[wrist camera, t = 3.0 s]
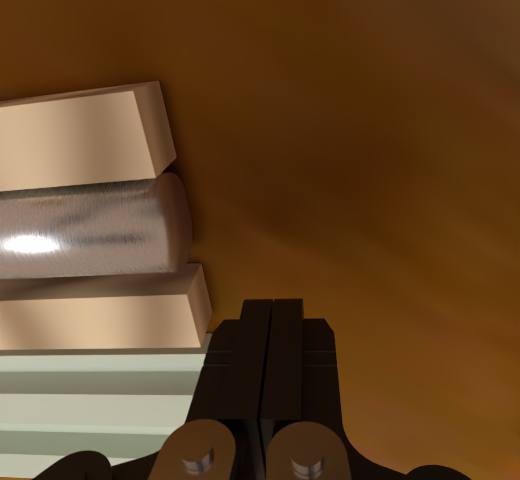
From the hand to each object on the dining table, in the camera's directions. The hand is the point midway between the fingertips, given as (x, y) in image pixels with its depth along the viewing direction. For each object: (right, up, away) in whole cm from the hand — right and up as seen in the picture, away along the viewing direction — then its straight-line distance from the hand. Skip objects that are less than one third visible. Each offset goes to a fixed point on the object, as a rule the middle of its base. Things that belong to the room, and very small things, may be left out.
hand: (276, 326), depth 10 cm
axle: (-12, +2, +7) cm, 14 cm away
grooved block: (-10, -8, +14) cm, 19 cm away
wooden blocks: (-11, +3, +9) cm, 15 cm away
